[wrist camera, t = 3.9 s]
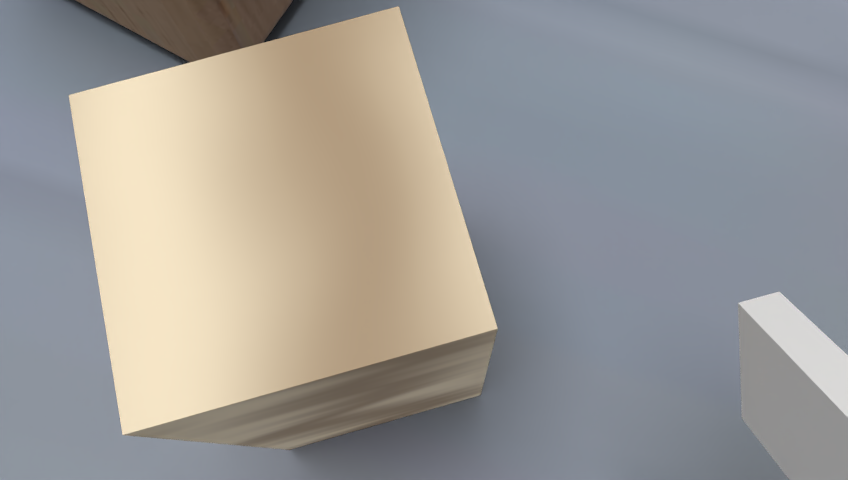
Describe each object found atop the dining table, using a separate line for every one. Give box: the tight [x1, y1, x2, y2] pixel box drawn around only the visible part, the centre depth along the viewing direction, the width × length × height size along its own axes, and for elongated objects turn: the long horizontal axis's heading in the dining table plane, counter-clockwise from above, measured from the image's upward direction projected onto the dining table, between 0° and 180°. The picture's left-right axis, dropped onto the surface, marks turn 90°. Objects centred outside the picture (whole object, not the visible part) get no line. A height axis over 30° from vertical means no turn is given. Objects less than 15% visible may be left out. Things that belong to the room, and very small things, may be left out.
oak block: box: [69, 6, 498, 450], centre depth 19 cm, size 6×6×12 cm
